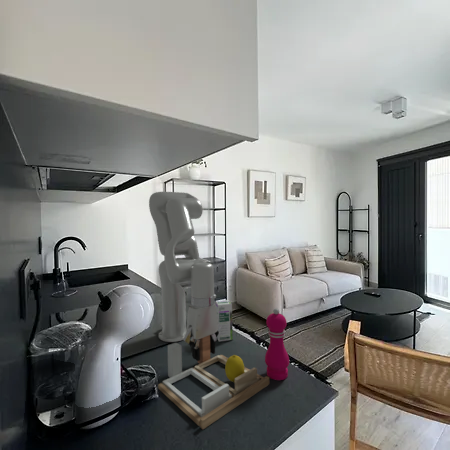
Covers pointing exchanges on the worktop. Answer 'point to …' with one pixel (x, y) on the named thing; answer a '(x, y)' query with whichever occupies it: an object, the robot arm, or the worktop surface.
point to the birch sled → (242, 380)
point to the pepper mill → (276, 347)
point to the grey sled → (175, 374)
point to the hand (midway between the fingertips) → (203, 355)
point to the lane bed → (223, 408)
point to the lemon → (234, 367)
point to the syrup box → (224, 320)
